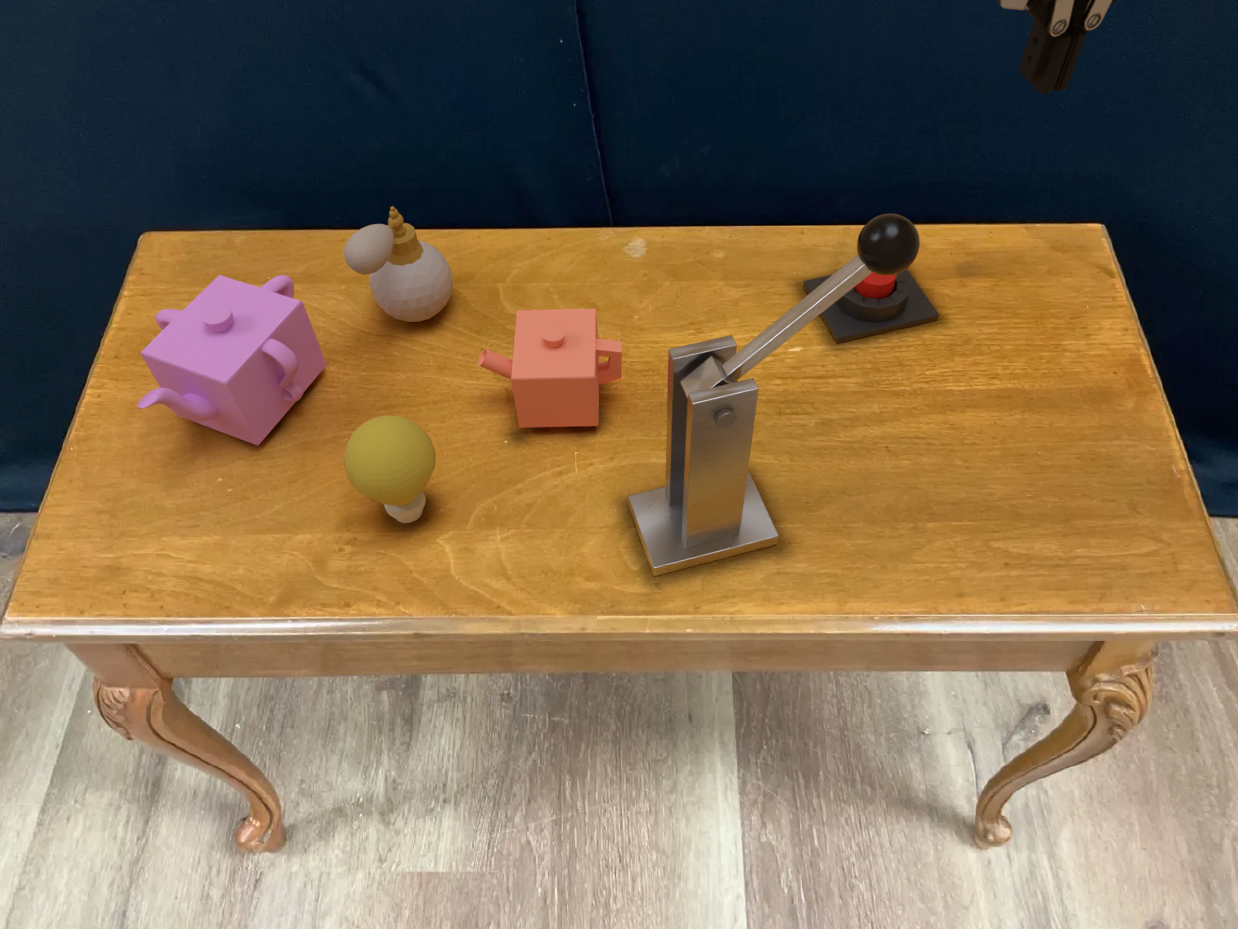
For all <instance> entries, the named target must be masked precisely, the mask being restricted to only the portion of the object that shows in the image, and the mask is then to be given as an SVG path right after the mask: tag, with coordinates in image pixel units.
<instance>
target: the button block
mask: <svg viewBox="0 0 1238 929" xmlns="http://www.w3.org/2000/svg"><path fill="white" fill-rule="evenodd" d="M832 275H833V274H829V275H825V276H820V277H815V278H811V279H806V280H804V281H803V284H802V287H803V289H804V290H805V292H806V294H807V295H808V294H810V293H811V292H812V291H813V290H814V289H816V288H817V287H818V286H819V285H821V284H822V283H823V282H824V281H826V280H827V279H828V278H829V277H830V276H832ZM819 316H820V317H821V319H822V322H823V323H824V324H825V326H826V327H827V329H828V331H829V332H830V334H831V336H832V338H833V339H834V341H835V343H836V344H841V343H845V342H849V341H854V340H857V339H861V338H866V337H870V336H876V335H879V334H884V333H887V332H892V331H897V330H901V329H905V328H910V327H915V326H918V325H924V324H927V323H931V322H935V321H938V320H939V317H940V314H939V312H938V311H937V309H936V308H935V306H933V304H932V302H931V301H930V299H929V298H928V297H927V296H926V293H925V292H924V291H923V290H922V288H921V287H920V285H919V284H918V282H917V281H916V280H915V278H914V276H913V275H912V274H911V272H910V271H909V269H908V268H907V269H905V270H904V271H902V272H900V273H898V274H897V276H896V280H895V284H894V288H893V291H892V293H891V294H890V295H889V296H887V297H885V298H881V299H874V298H867V297H864V296H862V295H860V294H859V293H858V292H857V291H856V290H855V288H852V289H851V290H850V291H849V292H847V293H846V294H845V295H843V296H842V297H841V298H840V299H838V300H837V301H836V302H835V303H833V304H832V305H831V306H830V307H828V308H827V309H826V310H825V311H823V312H822V313H821V314H820V315H819Z"/></svg>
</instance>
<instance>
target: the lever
mask: <svg viewBox="0 0 1238 929" xmlns="http://www.w3.org/2000/svg"><path fill="white" fill-rule="evenodd" d="M920 240H921V239H920V234H919V232H918V230H917V227H916V226H915V225H914V223H913V222H912V220H910V219H909V218H907V217H905V216H903V215H901V214H898V213H883V214H879V215H877V216H875V217H873V218H872V219H870V220H868V222H867V223H866V224H864V226H863V227H862V228H861V230H860V232H859V234H858V237H857V241H856V251H857V254H856V255H855V256H854V257H852V258H851V259H850V260H848V261H847V262H846V263H845V264H844V265H843V266H842V267H840V268H839V269H837V271H835V272H834V273H833V274H831V275H832V276H830V277H829V278H828V279H827V280H826V281H824V282H823V283H822V284H821V285H819V286H818V287H817V288H816V289H814V290H813V291H812V292H811V293H810V294H807V295H806V296H804V297H803V298H802V299H801V300H800V301H799V302H797V303H796V304H795V305H793V306H792V307H791V308H790V309H789V310H788V311H786V312H785V313H784V314H782V315H781V316H780V317H779V318H777V320H775V321H773V323H771V324H770V325H769V326H768V327H766V329H764V330H762V332H760V333H759V334H758V335H757V336H755V337H754V338H753V339H752V340H750V341H749V342H748V343H747V344H745V345H744V346H743V347H742V348H741V349H739V350H738V351H736V354H735V355H733V356H732V357H731V358H730V359H729V360H727V361H726V362H725V363H724V364H723V363H721V362H720V361H718V360H717V359H715V358H714V357H712V356H711V357H709V358H708V359H707V360H706V361H705V362H703V363H702V364H701V365H700V366H699V367H697V368H696V369H695V370H694V371H692V372H691V373H690V374H689V375H688V376H686V377H685V378H684V379H683V380H682V381H681V382H680V383H681V385H682V387H683V390H684V392H685V394H686V397H687V399H688V393H691V392H696V391H700V390H704V389H709V388H713V387H717V386H721V385H726V384H730V383H734V382H739V381H738V380H740V379H741V378H742V377H743V376H745V375H746V374H747V373H748V372H750V371H751V370H753V368H755V367H756V366H757V365H758V364H760V363H761V362H763V360H765V359H766V358H767V357H769V356H770V355H771V354H772V353H774V352H775V351H776V350H777V349H778V348H780V347H781V346H782V345H784V344H785V343H786V342H787V341H788V340H790V339H791V338H793V337H794V336H795V335H796V334H797V333H799V332H800V331H801V330H802V329H804V328H805V327H806V326H807V325H808V324H811V322H812V321H814V320H815V319H816V318H817V317H818V316H820V314H821V313H822V312H823V311H825V310H826V309H827V308H828V307H830V306H831V305H832V304H833V303H835V302H836V301H837V300H838V299H840V298H841V297H842V296H843V295H845V294H846V293H847V292H849V291H850V290H851V289H852V288H854V287H855V286H856V285H857V284H859V283H860V282H861V281H862V280H864V279H865V278H866V277H867V276H869V275H870V274H871V273H872V272H873V273H875V274H879V275H885V276H888V275H895V274H898V273H900V272H902V271H904V270H905V269H907V270H908V268H909V267H911V265H913V263H914V262H915V260H916V259H917V257H918V254H919V252H920V245H921V241H920Z"/></svg>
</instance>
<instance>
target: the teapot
mask: <svg viewBox="0 0 1238 929" xmlns="http://www.w3.org/2000/svg"><path fill="white" fill-rule="evenodd" d="M294 294H295V284H294V282H293V279H292V278H291V277H290V276H288V275H285V274H280V275H276V276H274V277H271V279H269V280H268V281H266V282H265V283H264V284H263V285H261V286H260V287H259V286H256V285H254V284H253V285H252V284H250V283H246V282H243V281H240V280H237V279H233V278H230V277H227V276H224V275H222V274H219V275H218V276H216V277H215V278H214V279H213V280H212V281H211V282H210V283H209V284H208V285H206V287H205V288H204V289H203V290H202V291H201V292H200V293H198V295H196V297H194V298H193V300H192V301H190V303H189V304H187V306H185V308H184V309H182V310H180V309H175V308H164V309H161V310H160V311H158V313H156V315H155V322H156V324H157V325H158V327H159V328H160V329H161V331H160V332H159V333H158V334H157V335H156V336H155V337H154V338H153V339H152V340H151V341H149V343H148V344H147V345H146V347H144V348H143V349H142V350H141V352H140V356H141V358H142V359H143V361H144V362H145V364H146V366H147V368H148V369H149V371H150V373H151V374H152V376H153V377H154V379H155V381H156V383H157V384H158V386H159V387H157V388H153V389H151V390H150V391H148V392H147V393H146V394H145V395H143V397H141V399H140V400H139V402H138V404H137V408H139V409H146V408H147V409H148V408H149V407H152V406H155V405H157V404H158V405H164V406H166V407H167V408H169V409H170V411H172V412H174V414H176V416H177V417H180V418H183V419H185V420H188V421H191V422H194V423H196V424H199V425H201V426H205V427H207V428H209V429H212V430H215V431H217V432H221V433H222V434H226V435H227V436H231V437H233V438H236V439H238V440H240V441H241V440H242V441H244V442H247V443H250V444H252V445H255V446H257V447H258V446H259V445H260V444H261V443H262V442H263V441H264V439H265V438H266V437H267V436H268V435H269V434H270V432H271V431H272V430H273V429H274V428H275V427H276V426H277V425H278V423H279V422H280V421H281V420H282V418H283V417H284V416H285V415H286V414H287V413H288V411H289V410H290V409H291V408H292V407H293V406H294V405H295V403H296V402H298V401H300V400H301V398H302V397H303V395H304V392H306V390H308V388H309V387H310V386H311V384H312V383H313V382H314V381H315V380H316V378H317V377H318V376H319V375H320V374H321V372H322V371H324V369H325V368H326V366H327V365H328V364H327V362H326V359H325V357H324V354H323V351H322V348H321V345H320V343H319V341H318V338H317V336H316V333H315V331H314V328H313V325H312V323H311V320H310V317H309V315H308V313H307V309H306V307H305V304H304V302H303V301H302V300H299V299H295V298H294Z"/></svg>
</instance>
